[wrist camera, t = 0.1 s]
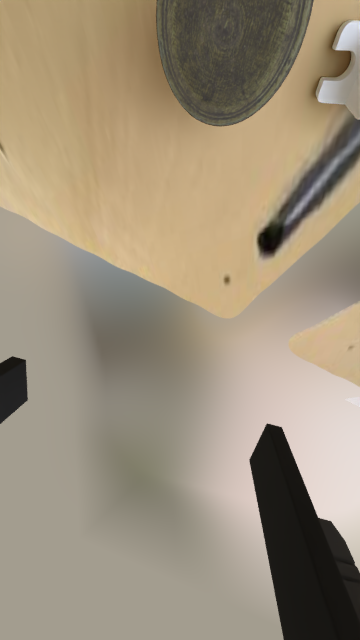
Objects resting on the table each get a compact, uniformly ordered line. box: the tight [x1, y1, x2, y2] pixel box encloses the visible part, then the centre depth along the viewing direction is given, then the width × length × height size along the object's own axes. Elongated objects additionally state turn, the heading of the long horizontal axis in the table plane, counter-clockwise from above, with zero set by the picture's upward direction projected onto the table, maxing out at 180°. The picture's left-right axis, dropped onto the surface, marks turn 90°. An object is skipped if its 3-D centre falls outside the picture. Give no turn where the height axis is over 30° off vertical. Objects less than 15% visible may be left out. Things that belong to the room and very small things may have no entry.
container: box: [156, 0, 313, 126], centre depth 17 cm, size 9×9×18 cm
